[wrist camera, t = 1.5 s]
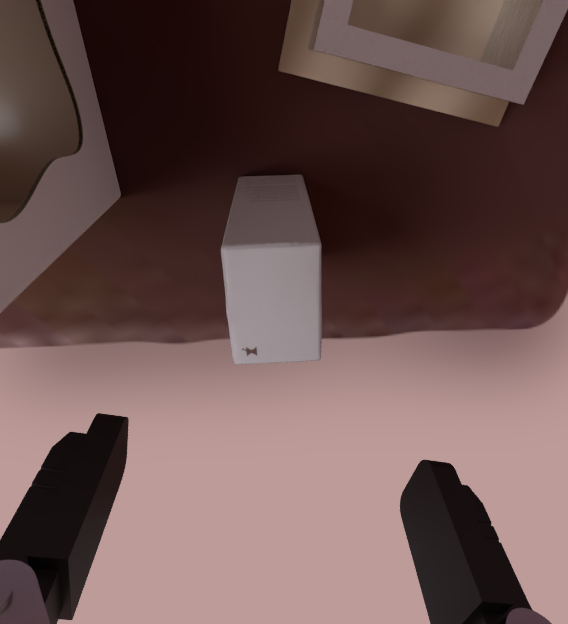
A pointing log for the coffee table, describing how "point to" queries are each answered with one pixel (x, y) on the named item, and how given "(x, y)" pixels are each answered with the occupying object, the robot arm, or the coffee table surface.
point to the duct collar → (445, 66)
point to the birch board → (409, 27)
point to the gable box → (47, 141)
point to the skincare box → (272, 272)
